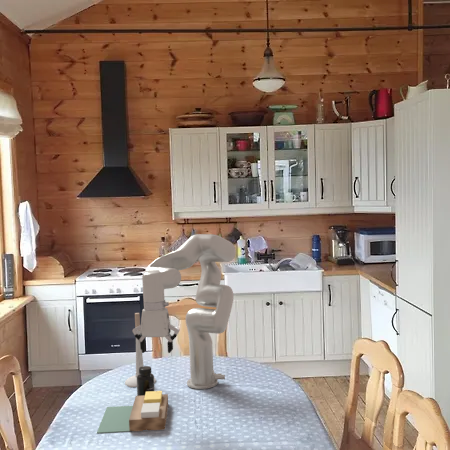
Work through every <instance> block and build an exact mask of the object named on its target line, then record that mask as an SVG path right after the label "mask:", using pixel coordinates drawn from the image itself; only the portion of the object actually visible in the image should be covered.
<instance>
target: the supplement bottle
mask: <svg viewBox="0 0 450 450" xmlns="http://www.w3.org/2000/svg"><path fill="white" fill-rule="evenodd" d="M154 378H155V375H154V374H153V373H152V367H151V366H150V365H144V366H143V367H140V368H139V375H138V376H137V388H136V396H143V395H145V393H146V392H148V391H156V390H155V387H156V386H155V383H154Z"/></svg>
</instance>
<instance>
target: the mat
mask: <svg viewBox="0 0 450 450" xmlns="http://www.w3.org/2000/svg"><path fill="white" fill-rule="evenodd" d="M132 408H133V405H122V406H121V405H119V406H107V407H106V409H105V410H104V413H103V416H102V418H101V422H100V423H99V426H98V429H97V432H96V434H111V433H127V432H131V431H130V430H129V418H130V415H131V411H132Z"/></svg>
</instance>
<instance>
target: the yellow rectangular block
mask: <svg viewBox="0 0 450 450" xmlns="http://www.w3.org/2000/svg"><path fill="white" fill-rule="evenodd" d="M162 394H163V391H162V390H155V391H148V392H146V393H145V398H144V403H160V404H161V401H162Z"/></svg>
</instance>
